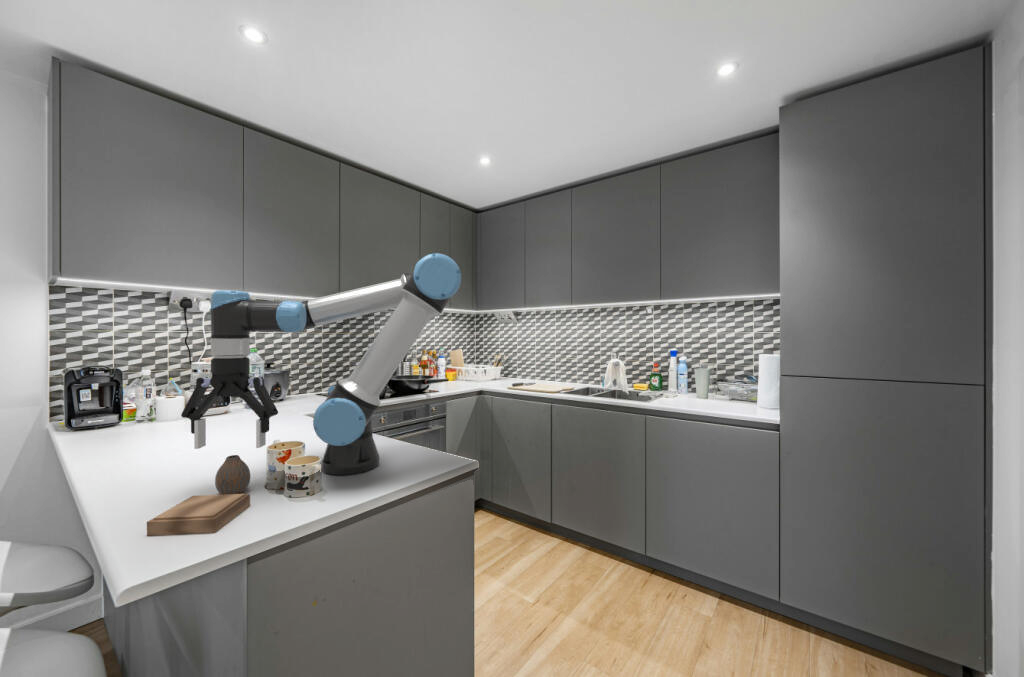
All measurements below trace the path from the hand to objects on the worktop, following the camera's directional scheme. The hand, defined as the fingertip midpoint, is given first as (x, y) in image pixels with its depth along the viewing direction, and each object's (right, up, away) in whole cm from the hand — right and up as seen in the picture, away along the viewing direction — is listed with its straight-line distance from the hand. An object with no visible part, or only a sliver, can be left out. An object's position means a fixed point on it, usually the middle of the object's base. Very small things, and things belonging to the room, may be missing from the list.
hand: (230, 446), depth 96 cm
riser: (+4, -11, -14) cm, 18 cm away
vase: (0, -11, 0) cm, 11 cm away
